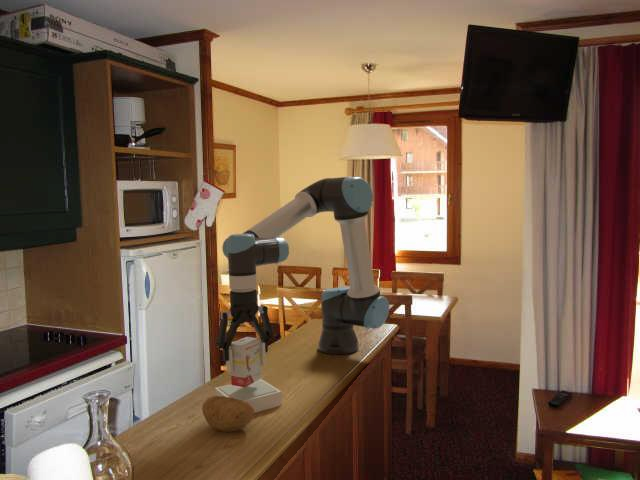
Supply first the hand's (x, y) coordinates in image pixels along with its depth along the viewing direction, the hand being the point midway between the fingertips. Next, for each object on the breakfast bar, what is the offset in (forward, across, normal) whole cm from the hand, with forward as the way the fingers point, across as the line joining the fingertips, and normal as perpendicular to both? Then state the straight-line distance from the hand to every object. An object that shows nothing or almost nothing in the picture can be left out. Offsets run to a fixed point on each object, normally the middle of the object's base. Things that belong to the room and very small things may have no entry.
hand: (246, 367), depth 149 cm
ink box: (+4, 0, 0) cm, 4 cm away
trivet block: (+10, 0, 0) cm, 10 cm away
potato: (+11, +11, +12) cm, 19 cm away
